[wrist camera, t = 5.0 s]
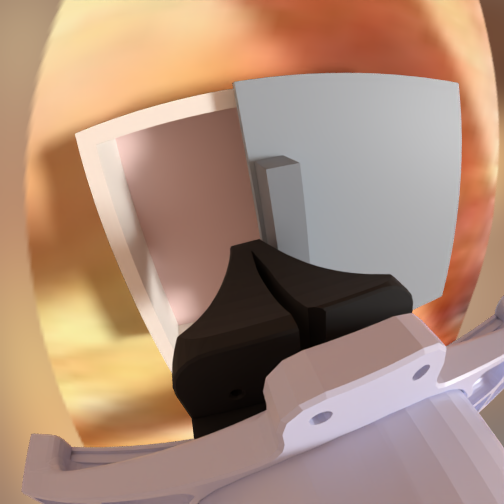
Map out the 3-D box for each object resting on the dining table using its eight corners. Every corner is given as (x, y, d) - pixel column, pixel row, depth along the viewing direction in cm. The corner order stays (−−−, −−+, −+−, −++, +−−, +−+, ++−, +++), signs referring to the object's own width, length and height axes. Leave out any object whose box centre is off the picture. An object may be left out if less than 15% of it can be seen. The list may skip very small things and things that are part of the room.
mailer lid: (437, 292, 18) (457, 309, 16) (279, 352, 17) (291, 381, 15) (452, 82, 11) (482, 85, 9) (232, 83, 10) (243, 75, 8)
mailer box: (332, 287, 21) (357, 320, 17) (171, 330, 20) (171, 373, 16) (315, 83, 14) (351, 78, 11) (100, 128, 13) (74, 133, 9)
